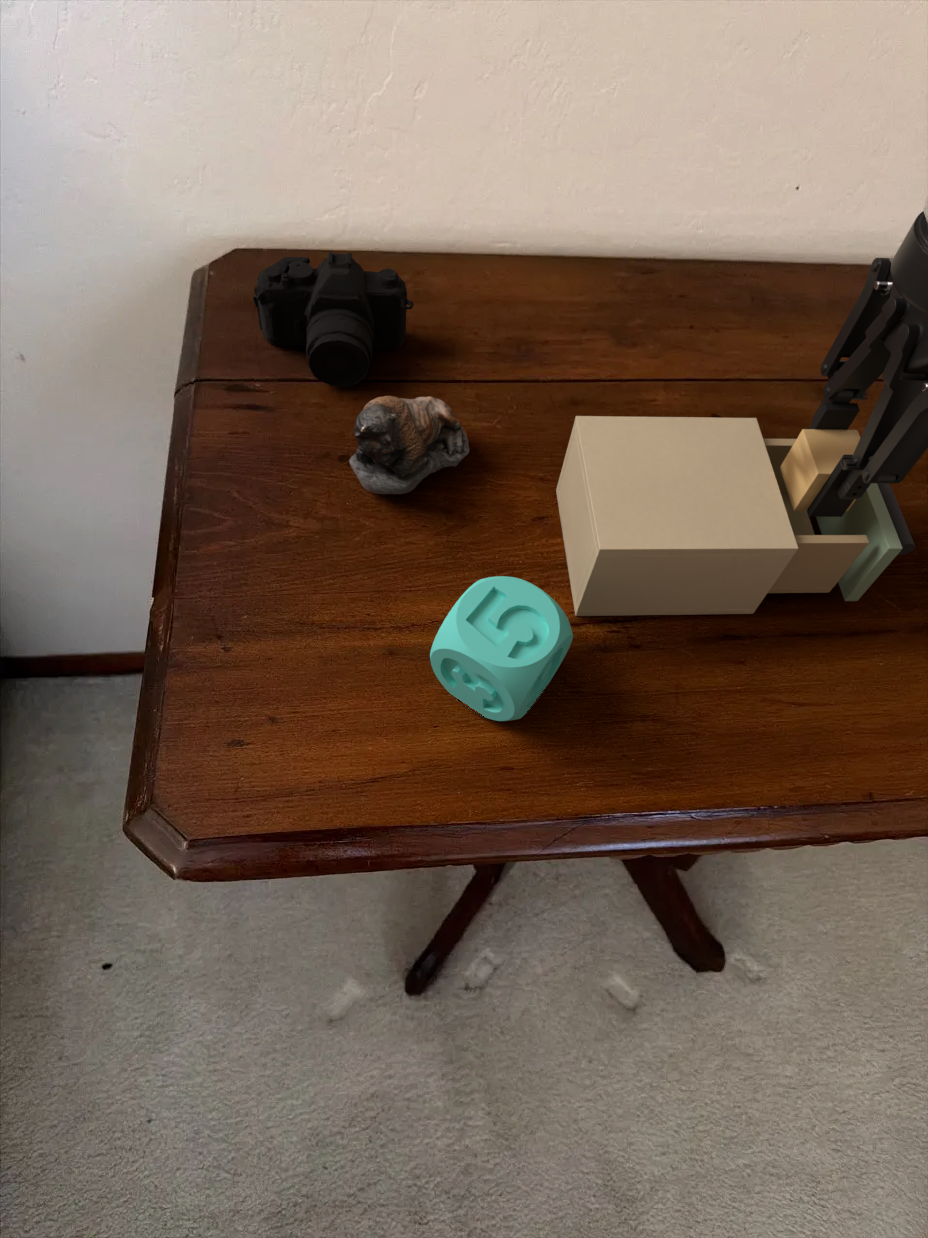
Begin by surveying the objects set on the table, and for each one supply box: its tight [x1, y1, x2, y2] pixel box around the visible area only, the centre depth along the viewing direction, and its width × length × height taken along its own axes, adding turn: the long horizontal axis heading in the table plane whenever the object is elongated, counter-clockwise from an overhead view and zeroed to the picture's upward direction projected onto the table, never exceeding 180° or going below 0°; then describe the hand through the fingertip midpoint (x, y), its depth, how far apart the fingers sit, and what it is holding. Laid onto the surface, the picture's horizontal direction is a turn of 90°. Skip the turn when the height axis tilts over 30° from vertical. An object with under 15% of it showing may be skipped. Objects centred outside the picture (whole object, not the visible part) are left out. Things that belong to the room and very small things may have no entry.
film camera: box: [252, 251, 415, 388], centre depth 84 cm, size 15×10×9 cm, turn 92°
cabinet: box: [555, 415, 798, 617], centre depth 74 cm, size 16×14×10 cm
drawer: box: [763, 438, 916, 602], centre depth 75 cm, size 18×12×8 cm
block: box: [780, 428, 861, 512], centre depth 70 cm, size 5×5×5 cm
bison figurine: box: [348, 395, 470, 495], centre depth 76 cm, size 12×7×10 cm, turn 136°
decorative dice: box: [429, 575, 574, 722], centre depth 67 cm, size 8×8×8 cm
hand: (815, 487), depth 72 cm, fingers closed on block, 5 cm apart
